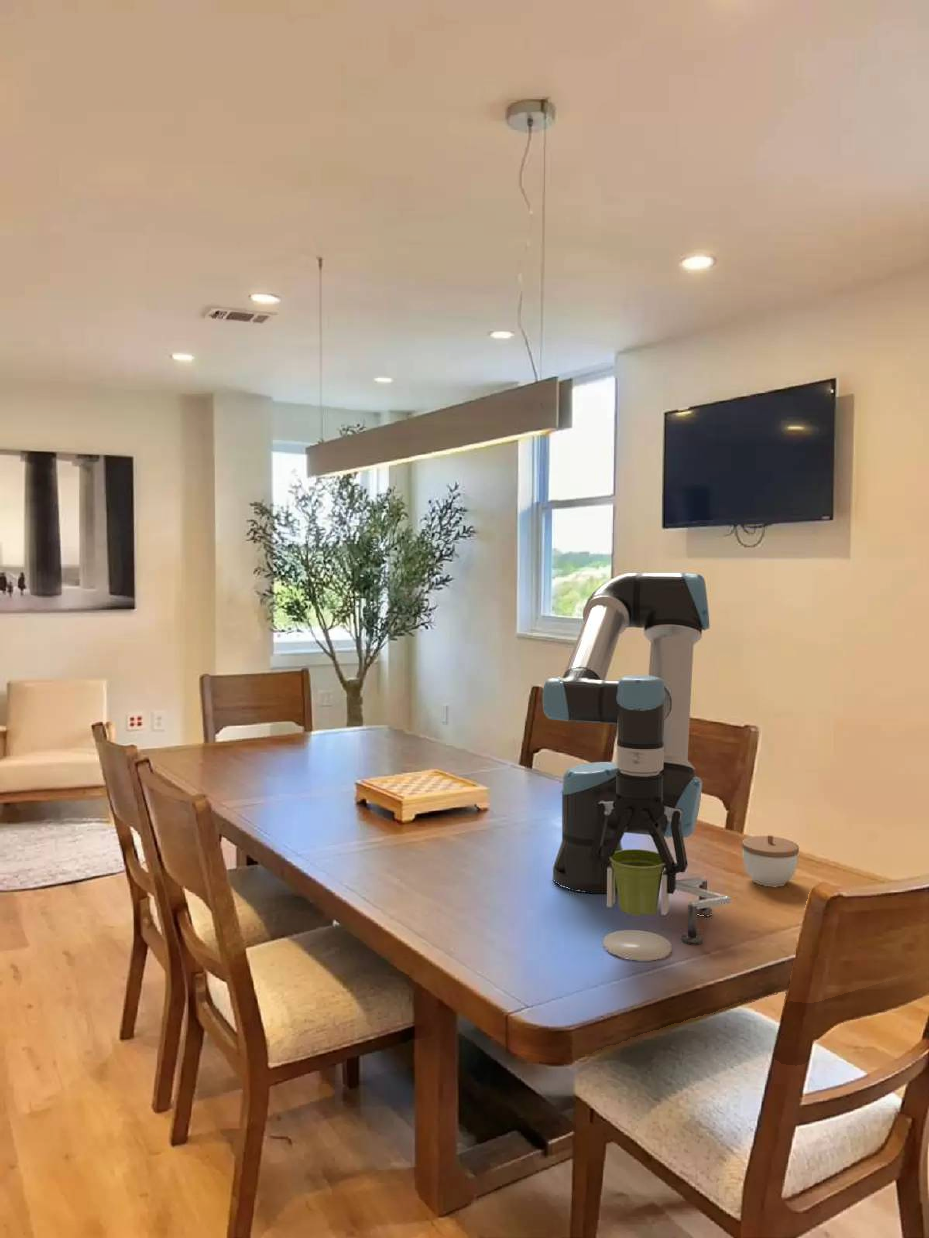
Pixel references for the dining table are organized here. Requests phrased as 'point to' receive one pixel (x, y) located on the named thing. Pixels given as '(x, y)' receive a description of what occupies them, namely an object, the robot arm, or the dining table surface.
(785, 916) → the dining table surface
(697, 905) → the zigzag bar on posts
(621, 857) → the plant pot
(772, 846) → the lidded jar
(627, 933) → the pad
